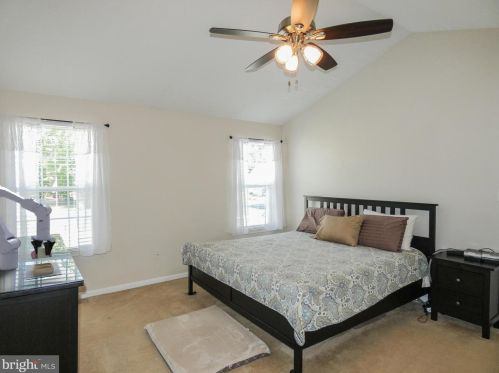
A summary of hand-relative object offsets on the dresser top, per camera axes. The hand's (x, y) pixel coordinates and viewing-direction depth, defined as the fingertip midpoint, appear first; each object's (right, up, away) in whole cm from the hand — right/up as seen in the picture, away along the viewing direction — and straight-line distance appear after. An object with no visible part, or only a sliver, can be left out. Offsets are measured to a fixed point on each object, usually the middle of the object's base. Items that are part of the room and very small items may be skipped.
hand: (43, 254), depth 155 cm
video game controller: (-14, -7, +19) cm, 25 cm away
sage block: (0, -1, 0) cm, 1 cm away
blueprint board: (+3, -7, -5) cm, 9 cm away
